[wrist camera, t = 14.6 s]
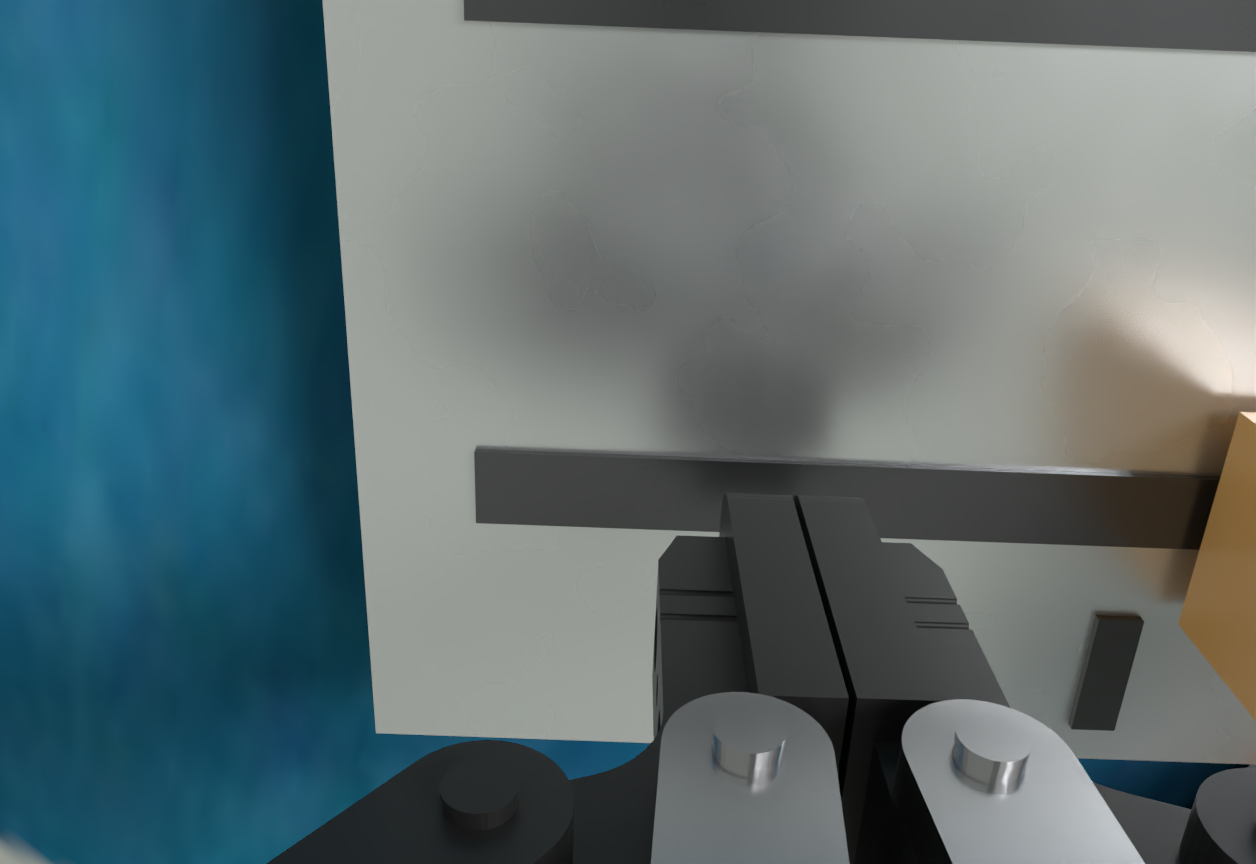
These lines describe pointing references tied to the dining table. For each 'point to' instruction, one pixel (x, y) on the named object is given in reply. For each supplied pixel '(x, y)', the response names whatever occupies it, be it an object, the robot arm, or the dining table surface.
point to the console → (793, 331)
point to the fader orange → (1229, 572)
